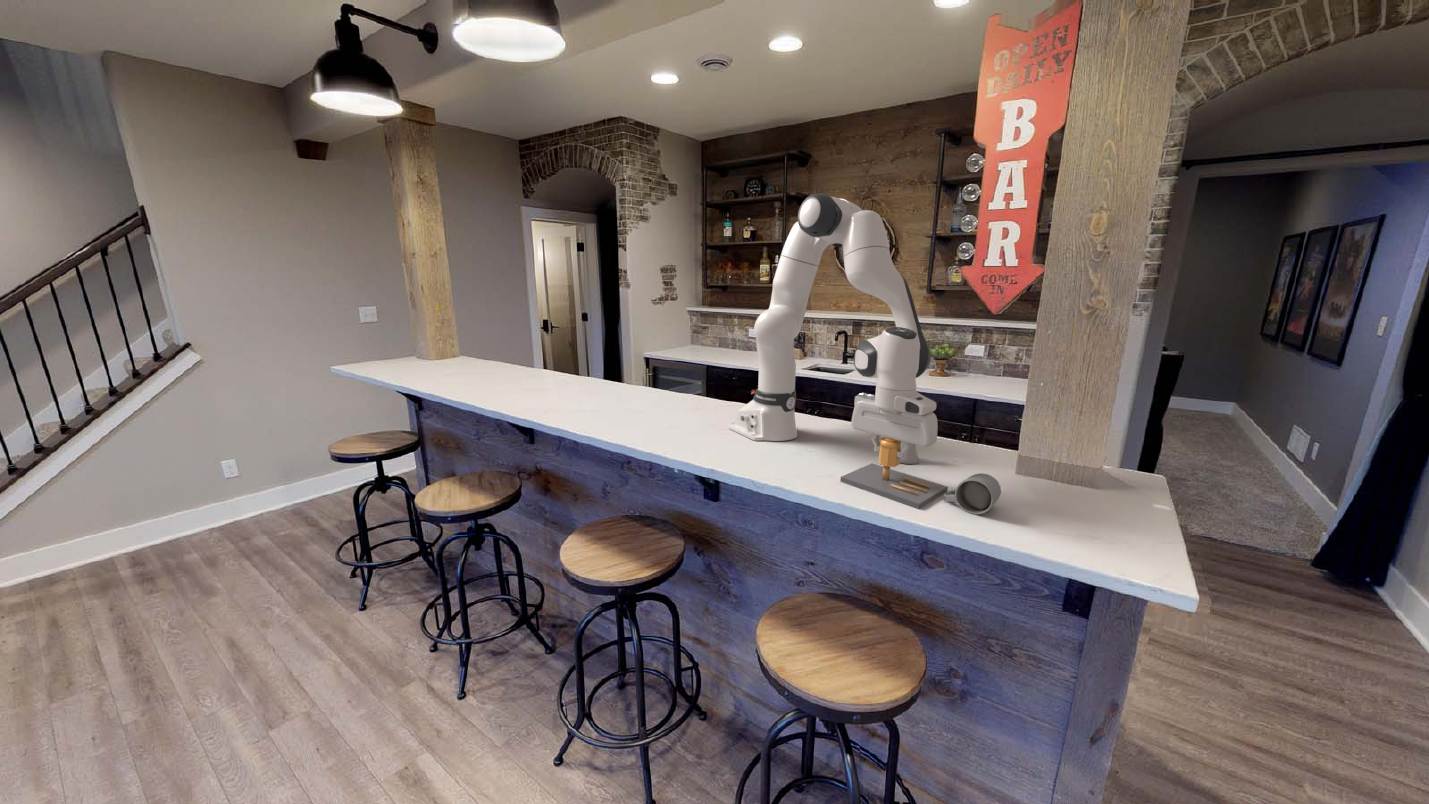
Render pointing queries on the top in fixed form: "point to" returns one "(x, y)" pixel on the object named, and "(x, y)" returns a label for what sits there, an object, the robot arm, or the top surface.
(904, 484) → the plate
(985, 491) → the ceramic mug
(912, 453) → the flask
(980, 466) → the top surface
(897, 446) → the wire nut
